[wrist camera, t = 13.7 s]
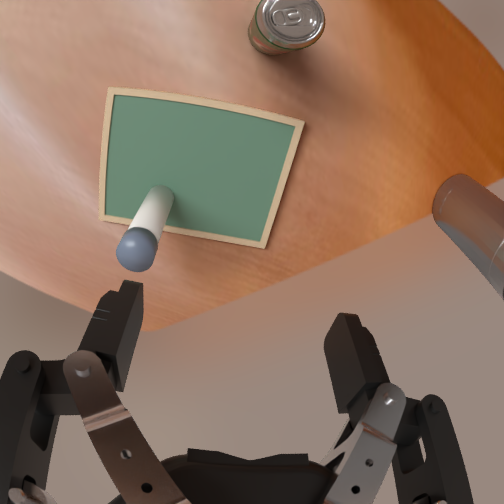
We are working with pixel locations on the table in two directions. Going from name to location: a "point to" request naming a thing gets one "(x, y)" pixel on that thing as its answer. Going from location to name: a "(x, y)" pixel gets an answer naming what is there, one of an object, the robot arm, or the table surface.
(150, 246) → the marker
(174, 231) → the slate
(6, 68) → the table surface
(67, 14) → the table surface
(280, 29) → the soda can
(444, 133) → the table surface
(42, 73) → the table surface
